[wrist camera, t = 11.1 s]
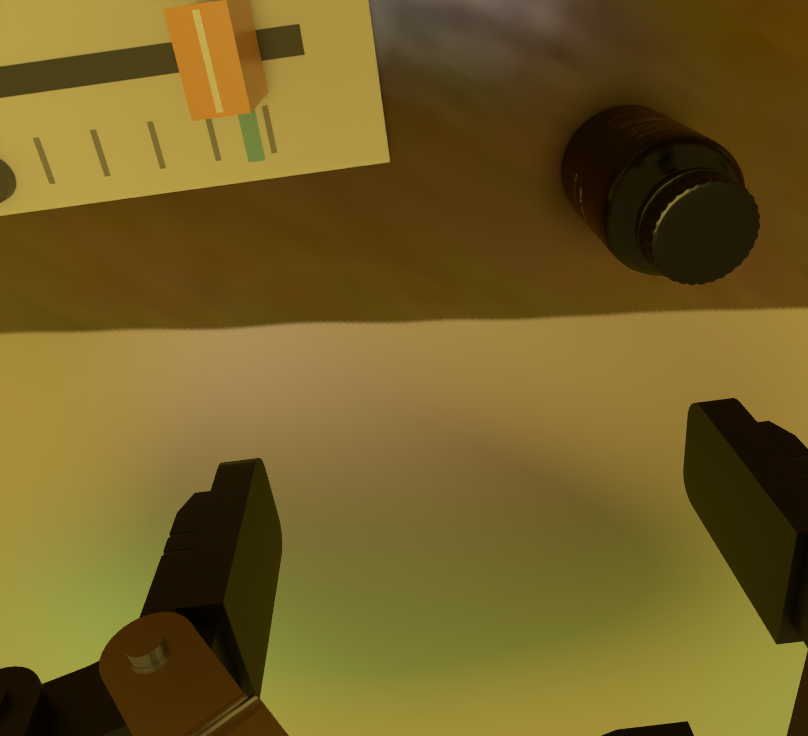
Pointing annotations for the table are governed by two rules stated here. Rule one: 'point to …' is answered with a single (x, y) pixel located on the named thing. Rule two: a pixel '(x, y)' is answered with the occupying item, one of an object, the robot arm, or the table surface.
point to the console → (175, 101)
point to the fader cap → (217, 57)
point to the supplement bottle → (661, 195)
